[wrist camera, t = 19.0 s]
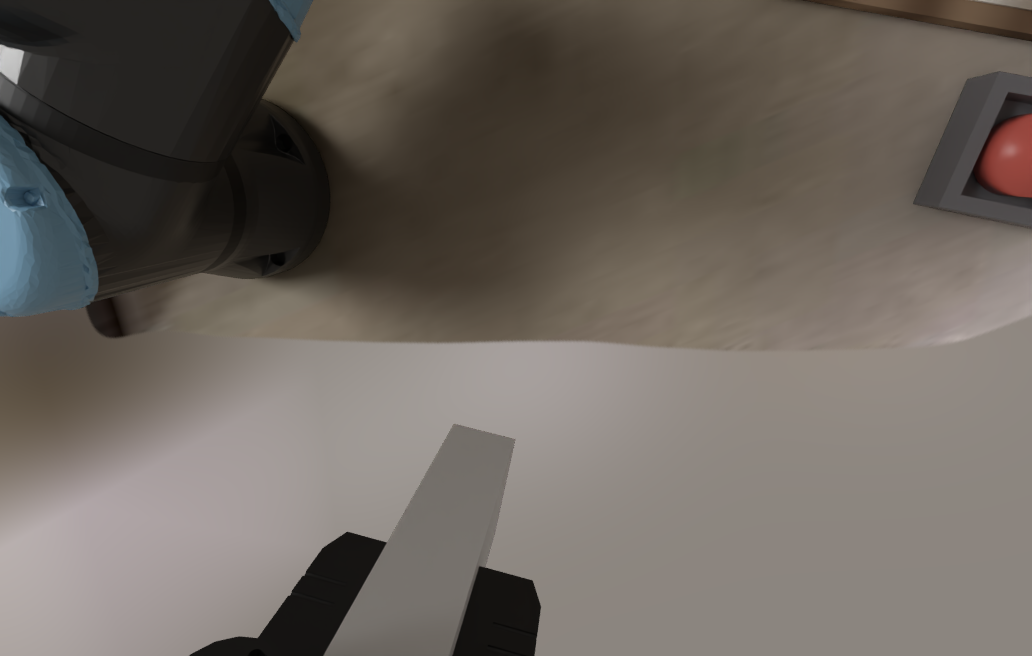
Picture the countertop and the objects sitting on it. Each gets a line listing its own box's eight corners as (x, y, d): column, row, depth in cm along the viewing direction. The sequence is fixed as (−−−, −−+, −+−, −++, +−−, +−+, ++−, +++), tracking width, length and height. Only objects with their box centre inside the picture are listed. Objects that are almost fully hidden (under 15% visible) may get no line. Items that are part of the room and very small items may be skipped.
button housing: (913, 203, 38) (938, 206, 35) (967, 78, 35) (999, 71, 32) (1034, 229, 37) (1070, 234, 34) (1099, 103, 35) (1144, 97, 32)
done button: (958, 186, 36) (982, 188, 34) (995, 106, 34) (1023, 102, 32) (1038, 203, 36) (1068, 205, 33) (1079, 122, 34) (1114, 119, 32)
